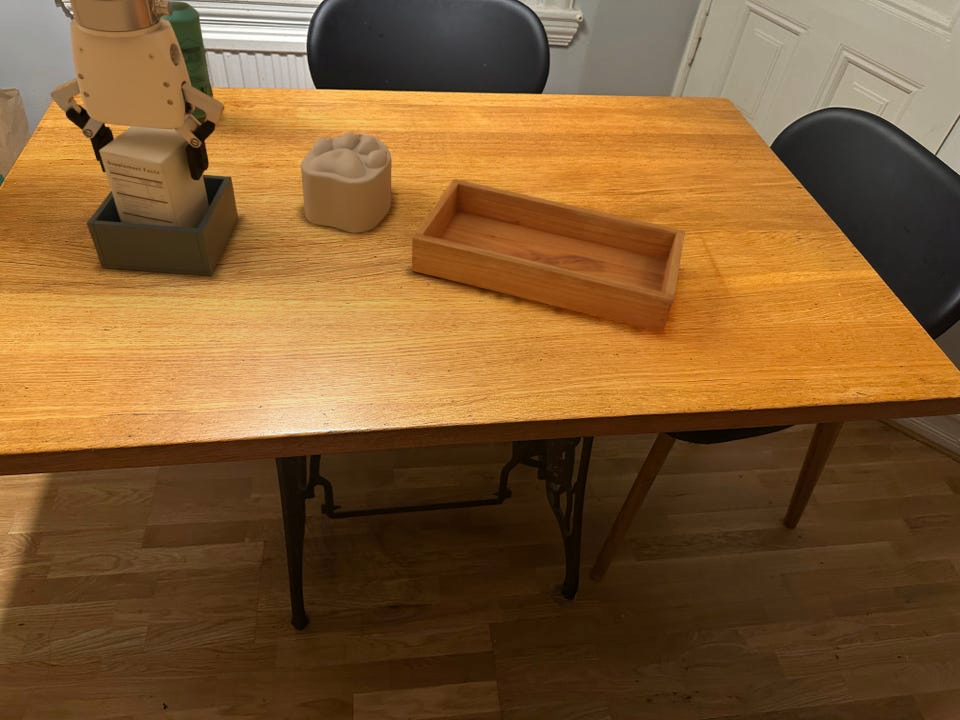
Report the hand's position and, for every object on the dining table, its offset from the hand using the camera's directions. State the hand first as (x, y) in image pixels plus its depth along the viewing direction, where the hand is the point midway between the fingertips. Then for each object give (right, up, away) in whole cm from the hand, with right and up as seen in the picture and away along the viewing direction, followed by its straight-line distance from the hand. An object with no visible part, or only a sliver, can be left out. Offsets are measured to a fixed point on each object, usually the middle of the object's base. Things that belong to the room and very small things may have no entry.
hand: (155, 170), depth 78 cm
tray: (+45, -10, +10) cm, 47 cm away
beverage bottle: (-8, +16, +30) cm, 35 cm away
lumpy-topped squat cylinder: (+19, 0, +17) cm, 25 cm away
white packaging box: (-1, -7, +6) cm, 9 cm away
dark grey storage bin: (-1, -7, +7) cm, 9 cm away
